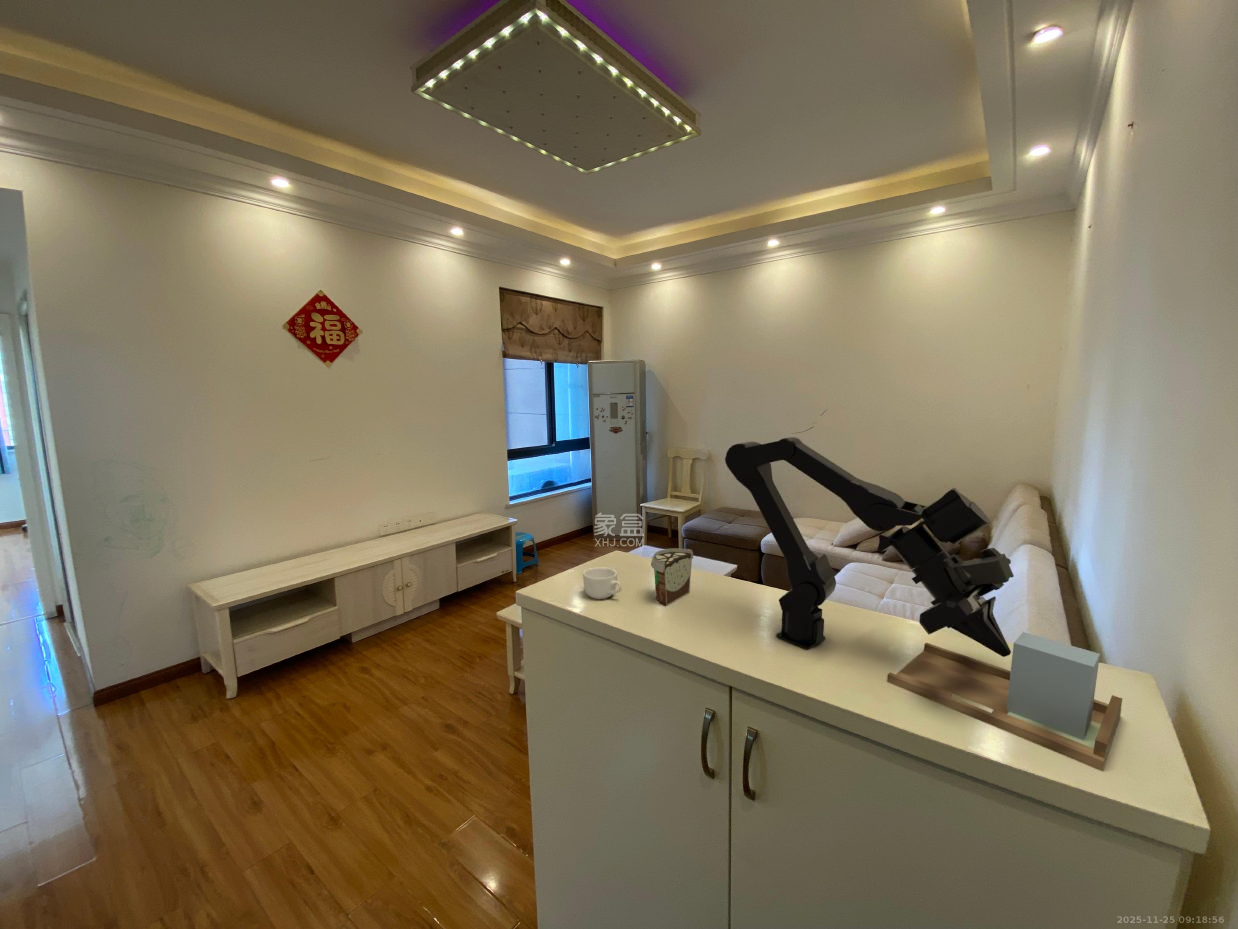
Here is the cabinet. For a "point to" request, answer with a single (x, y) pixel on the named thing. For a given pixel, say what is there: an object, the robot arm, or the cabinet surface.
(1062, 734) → the tray
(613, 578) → the teacup
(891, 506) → the robot arm
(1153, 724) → the cabinet surface
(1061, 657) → the slate block
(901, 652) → the cabinet surface
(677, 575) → the food container
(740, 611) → the cabinet surface
